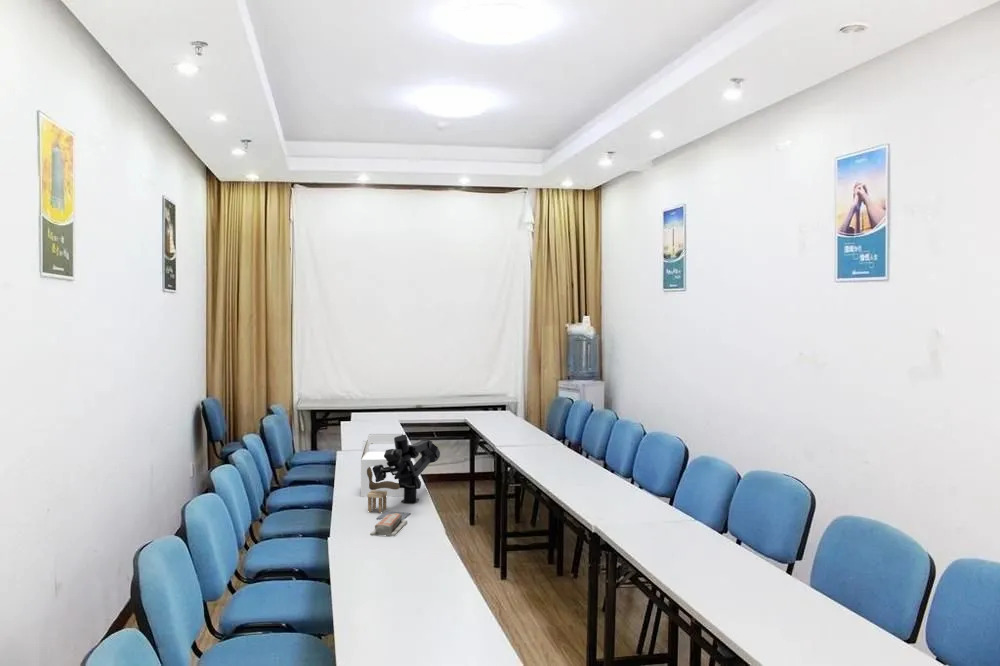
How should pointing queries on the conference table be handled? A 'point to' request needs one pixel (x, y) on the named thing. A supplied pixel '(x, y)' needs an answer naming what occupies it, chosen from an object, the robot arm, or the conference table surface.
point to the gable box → (377, 459)
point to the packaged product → (389, 525)
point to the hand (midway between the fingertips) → (385, 479)
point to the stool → (373, 496)
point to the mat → (404, 514)
